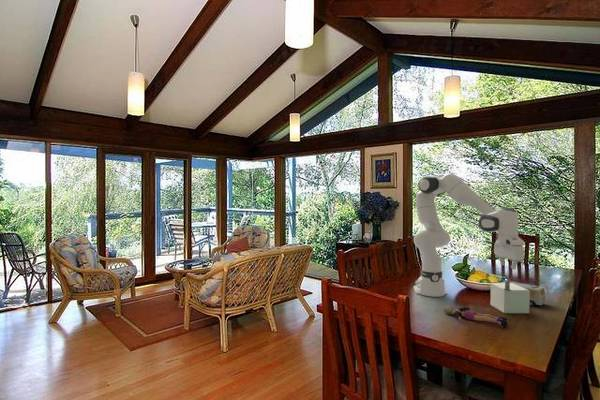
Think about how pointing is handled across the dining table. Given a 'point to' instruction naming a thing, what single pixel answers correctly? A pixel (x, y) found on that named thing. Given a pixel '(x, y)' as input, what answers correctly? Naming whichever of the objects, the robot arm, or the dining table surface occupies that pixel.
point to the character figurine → (475, 315)
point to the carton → (501, 294)
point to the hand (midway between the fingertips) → (507, 266)
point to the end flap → (516, 300)
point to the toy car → (534, 293)
